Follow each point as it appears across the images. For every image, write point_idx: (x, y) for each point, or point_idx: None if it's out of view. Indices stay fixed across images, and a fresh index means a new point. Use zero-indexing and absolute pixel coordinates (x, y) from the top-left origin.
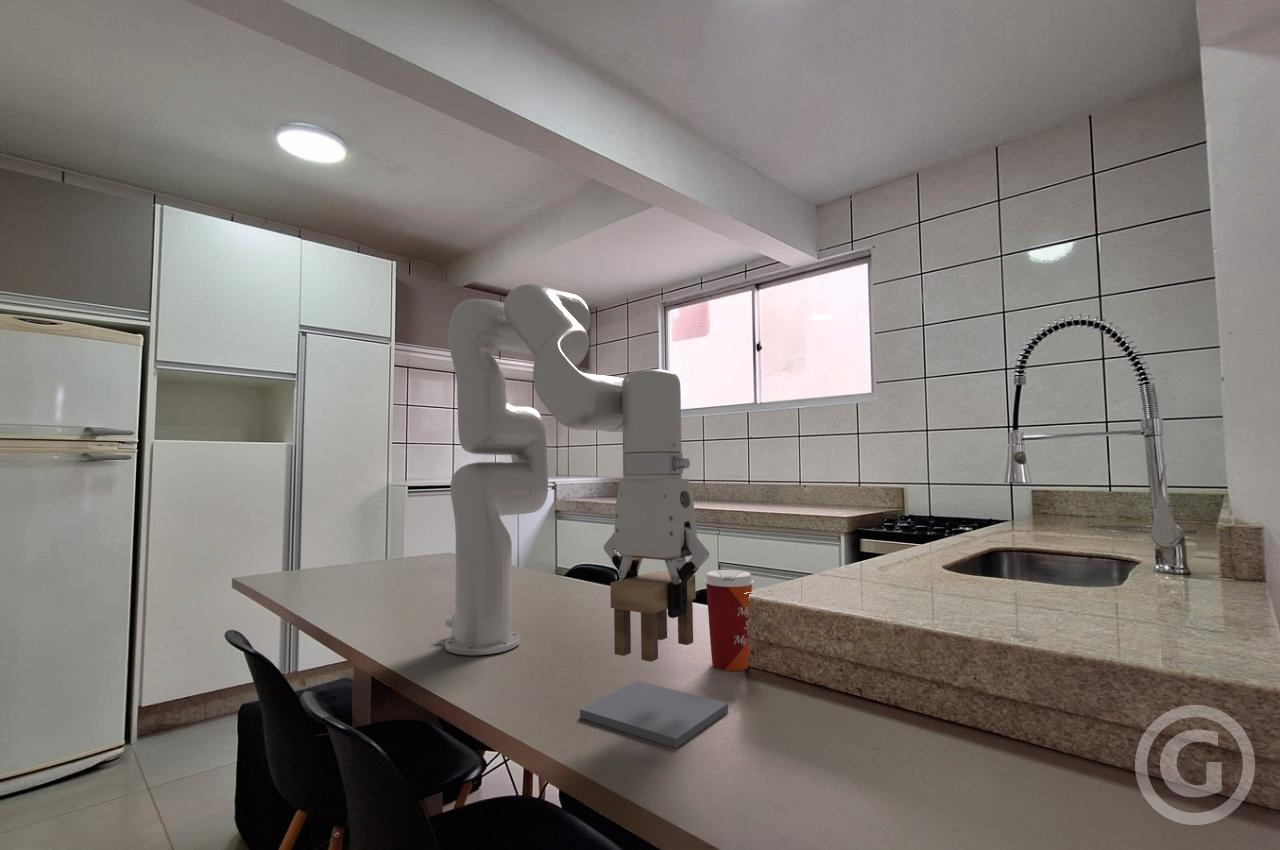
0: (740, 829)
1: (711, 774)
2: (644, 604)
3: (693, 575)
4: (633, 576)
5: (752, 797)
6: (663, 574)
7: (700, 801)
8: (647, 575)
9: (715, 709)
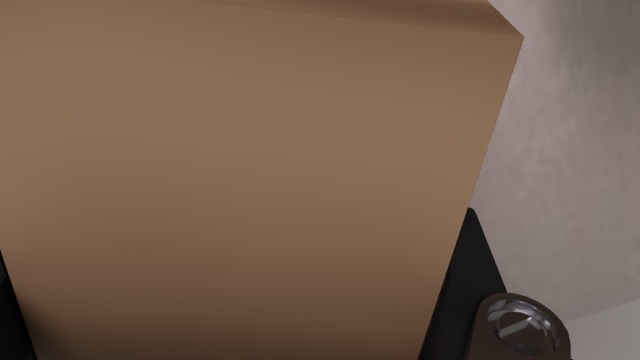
0: (584, 301)
1: (516, 206)
2: None
3: (510, 72)
4: (15, 326)
5: (597, 236)
6: (163, 157)
7: (516, 274)
8: (72, 256)
9: None
